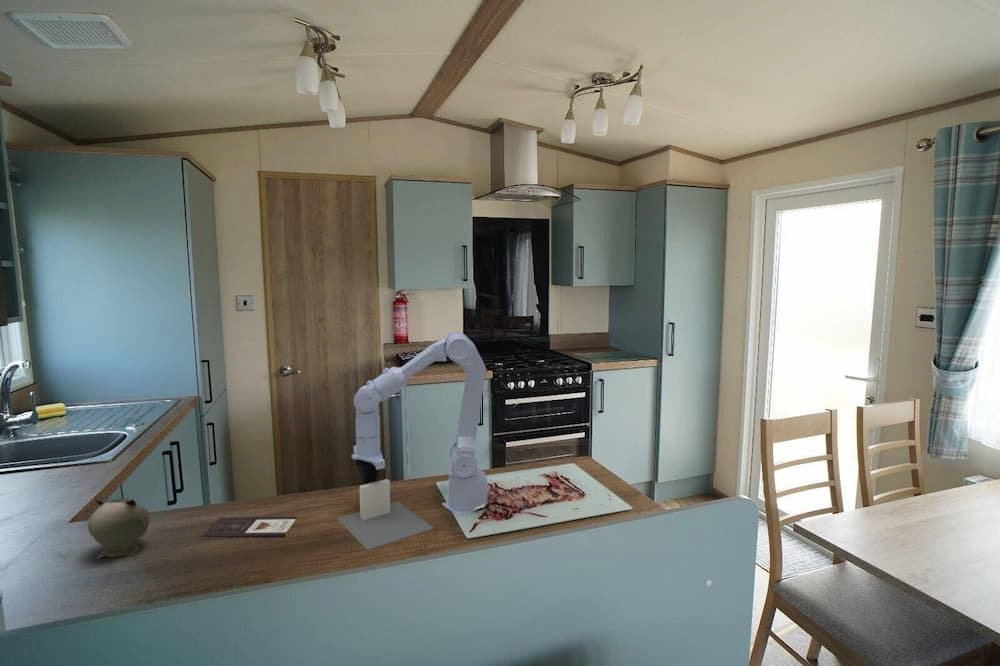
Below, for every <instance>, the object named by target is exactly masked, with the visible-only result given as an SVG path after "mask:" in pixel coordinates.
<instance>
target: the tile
mask: <svg viewBox="0 0 1000 666" xmlns="http://www.w3.org/2000/svg"><path fill="white" fill-rule="evenodd" d="M390 481H391V480H389V479H388V478H386V479H382V480H378V481H377V480H376V482H373V483H369V484H365V485H363V484H362V485H361V484H360V485H359V512H360V518H361V519H362V520H367V519H370V518H374V517H377V516H380V515H384V514H387V513H390V503H391V482H390Z"/></svg>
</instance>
